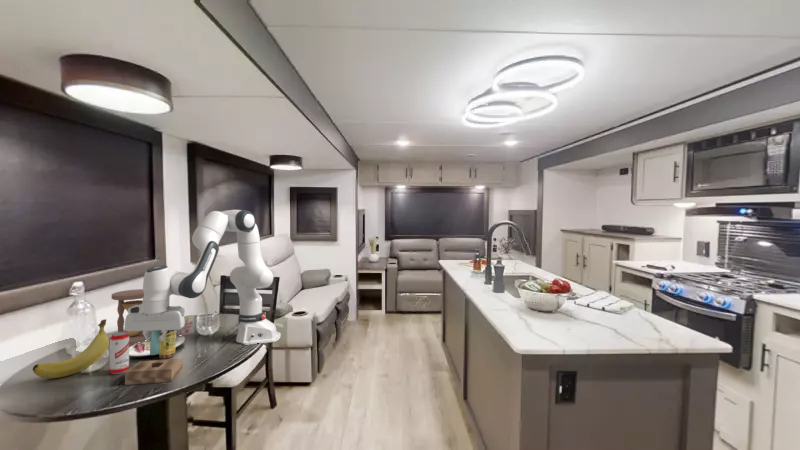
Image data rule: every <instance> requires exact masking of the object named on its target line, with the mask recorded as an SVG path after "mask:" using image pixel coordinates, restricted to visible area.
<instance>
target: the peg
mask: <svg viewBox="0 0 800 450" xmlns="http://www.w3.org/2000/svg"><path fill="white" fill-rule="evenodd" d="M159 336H160V330H153V331H151V336H150V344H149V356H156V355H159V344H160V341H158V337H159Z"/></svg>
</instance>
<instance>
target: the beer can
mask: <svg viewBox="0 0 800 450" xmlns="http://www.w3.org/2000/svg"><path fill="white" fill-rule="evenodd" d="M127 333H128V332H118V331H116V332H113V333H112V334H111V336H110V338H109V357H108V358H109V359H108V360H109V362H108V363H109V365H108V366H109V369H108V370H109V373H110V374H112V375H120V374H123V373H125V372H126V371H127V370H129V369H130V367H129V366H130V345H129V335H128V334H127Z"/></svg>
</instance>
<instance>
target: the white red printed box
mask: <svg viewBox="0 0 800 450" xmlns="http://www.w3.org/2000/svg"><path fill="white" fill-rule="evenodd" d="M184 321H185V325H184V327H183V328H181V329H179V330H176V336H177V335H182V336H181V337H184V336H188V335H192V334H194V319H193V315H192V314H191V315H186V316H185V315H184Z"/></svg>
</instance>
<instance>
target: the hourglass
mask: <svg viewBox="0 0 800 450" xmlns="http://www.w3.org/2000/svg"><path fill="white" fill-rule="evenodd" d="M143 297H144V292H143V288H138V289H128V290H122V291H121V290H120V291H117V292H113V293H111V300H114V301H117V302H118V303H117V308H116V310H117V311H116V312H117V314H118V318H117V321H116V323H117V332H128V333H127V334H128V335H129V346H130V345H136V344H139V343H138V342H141V343H143V342H142V341H144V342H146V341H145V340H146V338H145V336H144V335H143V331H126V330H125V318H124V313H125V311H126V312H127V311H128V308H130V307H132V306H135V305H138V304H140V303H143ZM148 333H149V335H150V336H151V331H149V332H148ZM135 343H136V344H135Z"/></svg>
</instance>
